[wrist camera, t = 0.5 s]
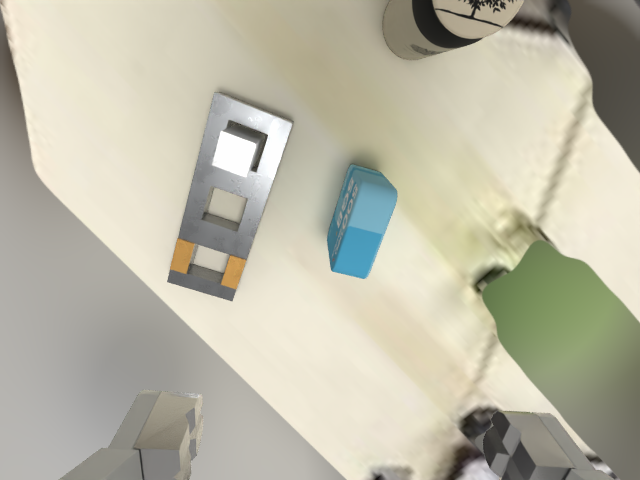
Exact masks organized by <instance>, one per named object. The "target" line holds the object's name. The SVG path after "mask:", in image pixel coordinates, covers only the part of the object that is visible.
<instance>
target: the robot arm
mask: <svg viewBox="0 0 640 480" xmlns="http://www.w3.org/2000/svg"><path fill="white" fill-rule="evenodd" d="M202 405H203V402H202V395H201V394H192V393H179V392H168V391H152V390H142V391H141V392H140V393H139V394H138V395H137V397H136V399H135V401H134V403H133V405H132V406H131V408H130V410H129V412H128V413H127V415H126V417H125V419H124V420H123V422H122V424H121V426H120V428H119V429H118V431H117V433H116V435H115V436H114V438H113V440H112V442H111V444H110V445H109V447H108V448H101V449H100V450H98V451H97V452H96V453H94V454H93V455H91V456H90V457H89V458H87V459H86V460H85V461H83V462H82V463H81V464H79V465H78V466H77V467H75V468H74V469H73V470H71V471H70V472H69V473H67V474H66V475H64V476H63V477H62V478H60V479H59V480H189V479H190V476H191V460H193V459H194V458H195V456H197V452H198V449H199V446H200V441H201V436H202V429H203V416H202V415H201V414H200V411H201V408H202ZM491 422H492V424H493V427H491V428H490V429H488V430H487V431H486V432H485V435H484V438H483V452H484V455H485V459H486V461H487V463H488V466H489V468H490V469H491V470H492V471H493V472H494V473H495V474H496V475H497V476H499V480H614V479H613V478H611V477H610V476H609V475H607V474H606V473H604V472H603V471H601V470H596V469H595V468H594V467H593V466H592V464H591V463H590V462H589V460H588V459H587V458H586V456H585V455H584V454H583V452H582V451H581V450H580V449H579V447H578V446H577V445H576V443H575V442H574V441H573V439H572V438H571V437H570V435H569V434H568V433H567V432H566V430H565V429H564V428H563V426H562V425H561V424H560V422H559V421H558V420H557V419H556V417H554V416H553V415H552V414H550V413H534V412H532V413H530V412H517V411H497V412H495V413H494V414H493V416H492V418H491Z"/></svg>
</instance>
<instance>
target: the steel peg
mask: <svg viewBox="0 0 640 480" xmlns="http://www.w3.org/2000/svg"><path fill="white" fill-rule="evenodd" d="M264 137H265V135H264V134H262V133H259V132H256V131H254V130H251V129H249V128H246V127H244V126H241V125H238V124H235V125H233V126H231V127H228V128H226V129H224V130H222V131H221V133H220V137H219V140H218V144H217V148H216V152H215V155H214V159H213V163H212V165H213V166H216V167H219V168H221V169H224V170H227V171H230V172H232V173H235V174H238V175H241V176H243V177H247V175H248V174H249V172H250V171H251V170H252V168H253V167H254V165H255V164H256V163H257V159H258V156H259V153H260V150H261V147H262V144H263V140H264Z"/></svg>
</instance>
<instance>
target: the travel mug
mask: <svg viewBox="0 0 640 480" xmlns="http://www.w3.org/2000/svg"><path fill="white" fill-rule="evenodd" d="M523 2H524V0H390V2H389V4H388V5H387V8H386V10H385V13H384V18H383V34H384V38H385V41H386V43H387V45H388V46H389V48H390V49H391V51H392V52H393V53H395V54H396V55H397V56H399V57H401V58H403V59H407V60H417V59H421V58H425V57H428V56H432V55H435V54H439V53H442V52H446V51H449V50H453V49H456V48H460V47H463V46H467V45H470V44H473V43H475V42H477V41H479V40H481V39H482V38H484V37H486V36H489V35H491V34H493V33H495V32H497V31H499V30H500V29H502V28H503V27H504V26H505V25H507V24H508V23H509V22H510V21H511V20H512V18H513V17H514V16H515V15H516V13H517V12H518V11H519V9H520V7H521V6H522V4H523Z"/></svg>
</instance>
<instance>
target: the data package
mask: <svg viewBox="0 0 640 480" xmlns="http://www.w3.org/2000/svg"><path fill="white" fill-rule="evenodd" d="M396 201H397V190H396V189H395V188H394V186H393V185H392V184H391V183H390V182H389V181H388V180H387V179H386V177H385V176H384V175H383V174H382V173H381V172H378V171H374V170H371V169H367V168H364V167H360V166H357V165H353V164H352V165H350V167H349V169H348V171H347V174H346V177H345V180H344V184H343V187H342V190H341V193H340V196H339V200H338V203H337V206H336V209H335V212H334V216H333V219H332V222H331V225H330V228H329V232H328V237H327V243H328V251H329V259H330V266H331V270H332V271H333V272H337V273H341V274H346V275H350V276H354V277H358V278H362V279H365V278H367V277H368V275H369V273H370V271H371V268H372V265H373V263H374V260H375V258H376V255H377V252H378V250H379V247H380V244H381V242H382V239H383V236H384V234H385V231H386V229H387V226H388V223H389V221H390V218H391V215H392V213H393V210H394V208H395V205H396Z"/></svg>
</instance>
